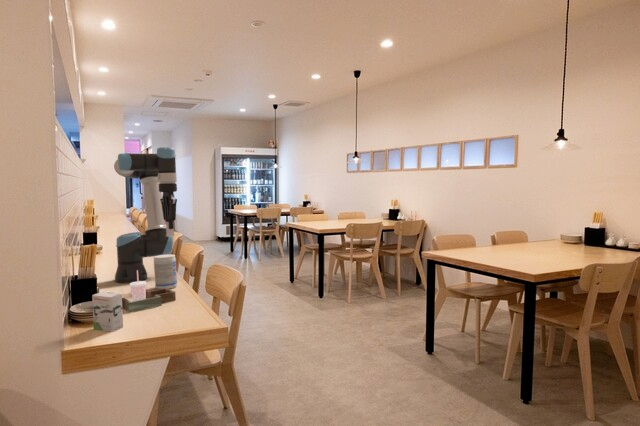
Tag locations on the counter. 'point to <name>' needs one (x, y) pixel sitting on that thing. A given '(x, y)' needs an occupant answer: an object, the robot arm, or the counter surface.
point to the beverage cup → (138, 289)
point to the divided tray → (150, 300)
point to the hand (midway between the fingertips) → (170, 236)
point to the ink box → (107, 311)
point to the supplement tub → (165, 271)
